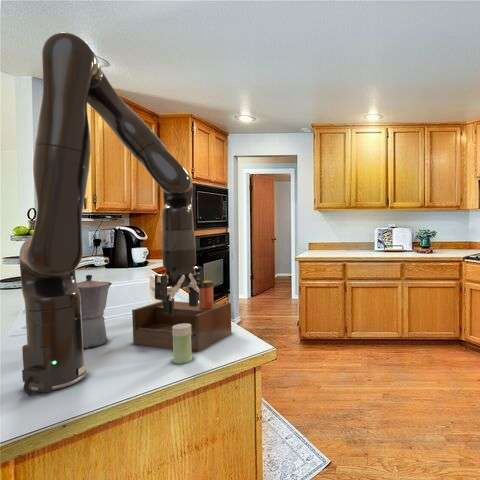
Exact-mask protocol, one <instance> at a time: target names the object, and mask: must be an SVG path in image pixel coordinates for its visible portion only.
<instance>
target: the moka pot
mask: <svg viewBox="0 0 480 480" xmlns="http://www.w3.org/2000/svg"><path fill="white" fill-rule="evenodd" d="M92 278H93V275H92V274H86V275H85V280H84V281H79V282H77V286H78V288H79V290H80V294H81V314H82V334H83V349H86V348H94V347H97V346H101V345H104V344H105V343H107V341H108V338H107V330H106V323H105V317H104V316H105V315H104V314H105V309H106V307H107V300H108V294H109V289H110V287H111V285H113V283H112V282H110V281H99V280H92Z"/></svg>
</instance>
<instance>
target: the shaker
mask: <svg viewBox="0 0 480 480" xmlns="http://www.w3.org/2000/svg"><path fill="white" fill-rule="evenodd" d="M191 332H192V331H191V324H188V323H183V324H177V325H174V326H173V327H172V335H173V348H172V355H173V363H174V364H180V365H181V364H186V363H189V362H191V361H192V359H193V351H192V346H191Z"/></svg>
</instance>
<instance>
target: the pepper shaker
mask: <svg viewBox="0 0 480 480" xmlns="http://www.w3.org/2000/svg"><path fill="white" fill-rule="evenodd" d="M203 281H204V287H203V288H201V289H199V292H198V303H199V308H200V309H209V308H212V307H213V304H214V280H207V279H206V280H205V279H204V280H203ZM197 283H198V284H199V281H197Z"/></svg>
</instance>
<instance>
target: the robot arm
mask: <svg viewBox="0 0 480 480" xmlns="http://www.w3.org/2000/svg"><path fill="white" fill-rule="evenodd" d="M41 60H42V61H41V62H42V99H41V105H40V110H39V116H38V123H37V124H38V125H37V130H36V137H35V142H34V151H33V162H32V173H33V182H34V190H35V195H36V202H37V203H36V204H37V208H36V209H37V212H36V218H35V223H34V228H33V233H32V236H30V237H28V238H27V239H26V240H25V241H24V242H23V243H22V245H21V246H20V249H19V255H18V257H19V269H20V270H19V271H20V273H19V274H20V283H21V293H22V297H23V300H24V301H23V302H24V308H25V309H24V311H25V323H26V324H25V328H26V343H27V344H24V345H23V346H22V348H21V350H22V365H23V367H22V368H23V369H22V370H21V375H22V377H21V378H22V382H23V391H24V393H25V394H26V395H27V396H28V397H31V396H33V395H34V393H33V392H38V393H45V394H47V393H50V392H52V391H55V390H60V389H63V388H66V387H70V386H72V385H75V384H77V383H79V382H80V381H82V380H83V379H84V378H85V377H86V371H87V364H86V363H85V355H84V353H85V352H84V348H83V334H82V314H81V294H80V290H79V288H78V286H77V283H78V282H77V277H76V268H78V267H79V264H80V263H81V262H82V259H83V208H84V203H85V198H86V192H87V186H88V179H89V172H90V165H91V155H92V141H91V131H90V123H89V118H88V117H89V116H88V106H90V107H91V108H92V109H93V110H94V111H95V112H96V113H97V115H99V116H100V117H101V118H102V120H103V121H104V122H105V124H106V125H107V126H108V127H109V128H110V130H111V131H112V132H113V134H115V136H116V137H117V138H118V139H119V141H120V142H121V144H122V145H124V147H125V148H126V149H127V150H128V151H129V152H130V154H131V155H132V156H133V157H134V158H135V159H136V160H137V161H138V162H139V163H140V164H141V165H142V166H143V167H144V168H145V170H146V171H147V172H148V173H149V175H150V176H151V178H152V179H153V180H154V181H155V183H156V184H157V185H158V186H159V187H160V189H162V198H163V206H162V211H161V227H162V229H161V230H162V233H161V254H162V255H161V257H162V266H163V268H165V274H154V275H155V299H156V300H162V301H163V312H164V314H165V316H172V315H174V301H175V300H174V301H173V298H174V299H175V296H176V294H177V293H178V292H179V290H180V289H183V288H184V287H185V288H186V289H187V290H188V302H189V306H192V307H196V306H198V303H199V289H201V288H203V287H204V281H205V280H204V269H203V267H202V266H196V265H197V249H196V248H197V246H196V236H195V227H194V224H195V223H194V212H193V198H194V197H193V195H194V194H193V193H194V192H193V191H194V189H193V188H194V184H193V183H194V182H193V179H192V176H191V175H190V173H189V172H188V171H187V169H185V168H184V166H183V165H182V164H181V163H180V162H179V161H178V160H177V158H175V157H174V156H173V155H172V154H171V153H170V151H169V150H168V149H167V147H166V146H165V144H164V143H163V142H162V141H161V139H160V138H159V137H158V135H157V134H156V133H155V132H154V131H153V129H151V128H150V126H149V125H148V124H147V123H146V122H145V121H144V120H143V119H142V118H141V117H140V116H139V115H138V114H137V113H136V112H135V111H134V110H133V109H132V108H131V107H129V105H128V104H127V103H126V102H125V101H124V100H123V99H122V98H121V97H120V95H119V94H118V93H117V92H116V90H115V89H114V88H113V86H112V84H111V82H110V81H109V80H108V78H107V77H106V75H105V73H104V71H103V69H102V66H101V63H100V60H98V57H97V55H96V53H95V51H94V50H93V48H92V47H91V46H90V45H89V44H88V43H87V42H86V41H85V40H84V39H83V38H82V37H80V36H78V35H76V34H74V33H70V32H57V33H54V34H51V36H49V37H48V38H47V39H46V41H44V44H43V46H42V50H41ZM198 282H199V284H198ZM170 286H171V288H170ZM160 290H161V291H162V295H160ZM169 292H170V294H169V296H168V293H169Z"/></svg>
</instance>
